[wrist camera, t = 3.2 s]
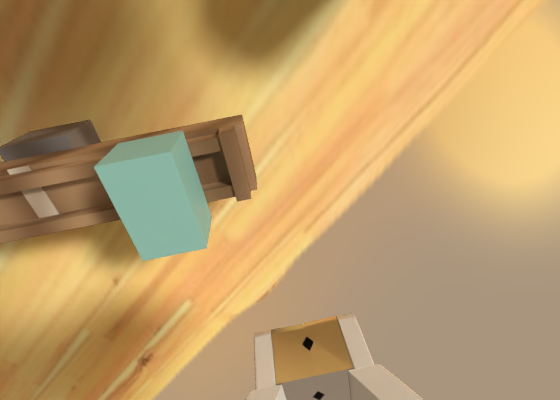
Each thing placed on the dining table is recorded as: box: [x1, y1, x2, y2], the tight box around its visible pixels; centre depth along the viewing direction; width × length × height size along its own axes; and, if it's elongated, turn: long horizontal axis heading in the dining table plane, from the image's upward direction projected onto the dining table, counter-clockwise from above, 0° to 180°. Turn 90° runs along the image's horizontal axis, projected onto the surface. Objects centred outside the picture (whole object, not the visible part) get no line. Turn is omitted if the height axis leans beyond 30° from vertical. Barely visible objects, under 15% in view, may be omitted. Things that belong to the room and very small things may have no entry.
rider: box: [94, 131, 212, 261], centre depth 20 cm, size 4×6×5 cm, turn 10°
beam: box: [0, 115, 257, 243], centre depth 24 cm, size 30×7×8 cm, turn 100°
